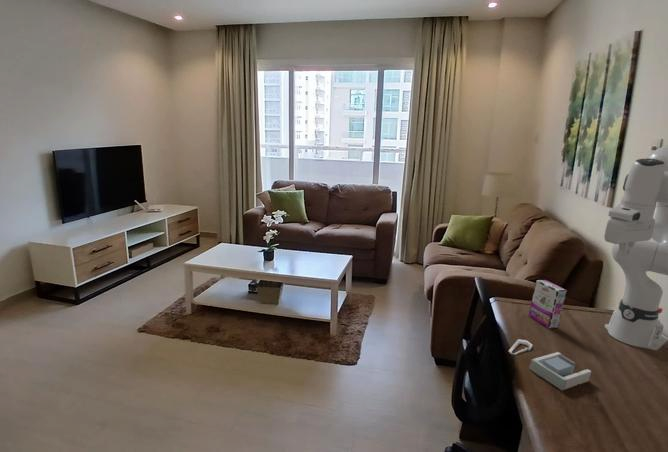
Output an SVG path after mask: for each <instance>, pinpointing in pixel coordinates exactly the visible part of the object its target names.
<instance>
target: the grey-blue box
mask: <svg viewBox="0 0 668 452" xmlns="http://www.w3.org/2000/svg"><path fill="white" fill-rule="evenodd" d="M543 365H545V366H546V367H548V368H550V369H551V370H553V371H554V372H556V373H558V374H559V375H561V376H562V377H565V376H568V375H571V374H574V370H575V366H576V362H575V361H573V360H572V359H570V358H568V357H566V356H565V355H563V354H562V353H561V354H560V355H559V356H558V357H556V358H553V359H550V360H546V361H544V363H543Z"/></svg>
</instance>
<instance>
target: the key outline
mask: <svg viewBox="0 0 668 452" xmlns="http://www.w3.org/2000/svg"><path fill="white" fill-rule="evenodd" d="M520 344H521V345H525V346H528V347H524V348H522V349H520V350H518V351H516V352H514V353H513V351H514V350H515V349H516V348H517V347H518V346H519V345H520ZM533 345H534V344H532V343H531V342H530V341H528V340H527V339H520V338H518V339H517V340H516V341H515V343H514V344H513V345H512V346H511V347H510V348H509V350H508V352H509V354H510V355H515V356H516V355H519V354H520V353H523V352H526V351H531V350H532V349H533Z"/></svg>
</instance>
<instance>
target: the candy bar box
mask: <svg viewBox="0 0 668 452" xmlns="http://www.w3.org/2000/svg"><path fill="white" fill-rule="evenodd" d="M567 293H568V290H567V289H565V288H563V287H561V286H559V285H557V284H555V283H553V282H551V281H549V280H546V279H538V280H536V282H535V287H534V290H533V295H532V300H531V303H530V309H529V312H528V317H529V318H531V319H533V320H534V321H536V322H537V321H538V322H537V323H539V324H541V325H542V326H544V327H545V328H547V329H558V328H559V324H560V320H561V316H562V312H563V308H564V303H565V299H566V296H567Z"/></svg>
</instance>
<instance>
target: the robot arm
mask: <svg viewBox="0 0 668 452" xmlns="http://www.w3.org/2000/svg"><path fill="white" fill-rule="evenodd" d="M622 190H623V191H624V194H623V195H622V198H621V200H620V203H619V204H617V205H616V206H615V207H612V208H611V209H610V210H609V211H608V217H610V218H609V219H608V220H607V222H606V226H605V231H604V235H603V237H604V238H603V239H604V242H607V243H611V244H613V246H612V248H611V256H612V259H613V260H614V261H615V262H616V264H618V265H619V266H620V268H621V269H622V271H623V274H624V278H625V286H624V290H623V291H624V292H623V296H622V298H621V299H620V301H619V303H618V309H615V310H614V311H613V313H612V314H611V317H610V319H609V323H605V325H604V326H603V327H604V328H605V330H607V332H608V334H609V335H610V336H611V337H613V338H614V339H615V340H618V341H620V342H622V343H624V344H627V345H630V346H632V347H633V346H634V347H638V348H643V349H649V350H653V351H658V350H659V349H661V348H662V347H663V346H664V345H665V344H666V343H667V342H668V337H666V336H665V334H663V330H664V325H663V323H662V322H661V321H660V320H659V315H660V314H661V313H662V312H663V307H659V306H660V303H661V301H662V297H663V294H664V293H663V292H664V291H663V289H662V287H661V286H660V284H658V283H657V281H654V280H653V279H651V278H650V277H649V276H648V274H647V272H651V273H654V274H655V273H657V274H660V275H665V276H668V145H663V146H662V147H659V148H657V149H655V150H654V151H652V152H651V153H650V154H649V155H648V157H647V158H638V159H636V160H634V162H633V164H632V166H631V167H630V170H629V172H628V174H626V176H625V179H624V182H623V186H622ZM651 239H652V240H653V241H651Z"/></svg>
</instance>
